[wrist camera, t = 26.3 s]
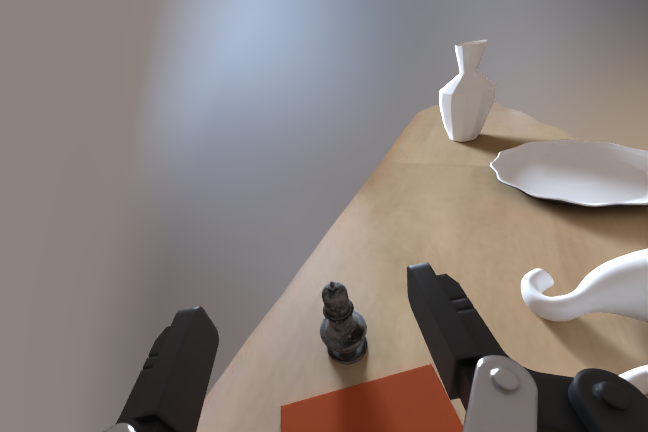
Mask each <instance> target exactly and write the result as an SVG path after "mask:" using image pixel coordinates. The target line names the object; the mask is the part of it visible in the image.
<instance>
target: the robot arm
mask: <svg viewBox="0 0 648 432" xmlns="http://www.w3.org/2000/svg"><path fill="white" fill-rule="evenodd" d="M407 287H408V298H409V302H410V306H411V309H412V311H413V313H414V316H415V318H416V320H417V323H418V325H419V327H420V330H421V332H422V335H423V337H424V339H425V342H426V344H427V346H428V349H429V351H430V353H431V356H432V358H433V361H434V363H435V365H436V368H437V370H438V372H439V375H440V377H441V379H442V382H443V384H444V386H445V389H446V391H447V394H448V396H449V398H450V400H452V399H458V398H460V399H461V402H462V404H463V406H464V408H465V410H466V415H465V420H464V425H463V430H462V432H648V399H647V398H646V397H645V395H644V394H643V393H642V392H641V391H640V390H639V389H637V388H636V387H635V386H634V385H633V384H631V383H630V382H628V381H627V380H625V379H624V378H622V377H620V376H618V375H616V374H614V373H611V372H609V371H606V370H601V369H595V368H589V369H584V370H582V371H580V372H578V373H577V375H576V376H575V378H573V377H566V376H560V375H553V374H546V373H540V372H535V371H532V370H529V369H527V368H525V367H523V366H521V365H520V364H519V363H517V362H516V361H514V360H512V359H511V358H510V357H509V356H508V355H507V354H506V353H505V352H504V351H503V350H502V348H501V347H500V345H499V344H498V342H497V341H496V339H495V338H494V336H493V335H492V333H491V332H490V330H489V329H488V327H487V326H486V324H485V323H484V321H483V320H482V318H481V317H480V315H479V313H478V312H477V310H476V309H474V307H473V304H472V303H471V301H470V300H469V298H467V295H466V294H465V292H464V291H463V289H462V288H461V286H460V285H459V283H458V282H456V281H455V280H454V279H452V278H451V277H450V276H448V275H447V274H442V275H437V276H436V274H435V272H434V271H433V269H432V267H431V266H430V264H429V263H422V264H416V265H411V266H408V267H407ZM218 343H219V336H218V331H217V329H216V327H215V326H214V324H213V323H212V321H211V320H210V318H209V317H208V315H207V314H206V312H205V310H204V309H203V308H202V307H201V306H198V307H193V308H188V309H182V310H179V311H178V312H177V313H176V316H175V318H174V320H173V322H172V324H171V326H169V327H166V328H165V329H164V331H163V332H162V333H161V334H160V336H159V337H158V338H157V339H156V340H155V342H154V345H153V347H152V349H151V351H150V353H149V358H147V359H146V362H145V364H144V366H143V370H142V371H141V372H140V374H139V377H138V379H137V381H136V383H135V386H134V388H133V390H132V392H131V394H130V396H129V398H128V400H127V403H126V405H125V407H124V409H123V411H122V413H121V415H120V417H119V419H118V421H117V423H116V424H115V425H114V426H112V427H110V428H108V429H107V430H105V431H104V432H196V430H197V426H198V422H199V418H200V415H201V411H202V407H203V403H204V399H205V395H206V391H207V387H208V383H209V379H210V375H211V371H212V368H213V364H214V359H215V356H216V352H217V348H218Z"/></svg>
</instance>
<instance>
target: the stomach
mask: <svg viewBox="0 0 648 432" xmlns="http://www.w3.org/2000/svg"><path fill="white" fill-rule="evenodd" d="M553 283H554V281H553V279H552V277H551V275H550V274H549V273H548V272H546V271H545V270H543V269H534V270H532V271H530V272H529V273H527V274H526V275H525V276H524V277H523V279H522V282H521V292H522V296H523V299H524V301H525V303H526V305H527V306H528V307H529V308H530V309H531V310H532V311H533V312H534V313H535V314H537V315H538V316H540V317H542V318H545V319H547V320H551V321H560V322H562V321H569V320H572V319H574V318H577V317H579V316H582V315H585V314H589V313H597V312H602V313H611V314H617V315H622V316H626V317H630V318H634V319H638V320H641V321H644V322H648V249H645V250H641V251H637V252H633V253H630V254H627V255H624V256H621V257H618V258H615V259H613V260H611V261H608V262H606V263H604V264H602V265H601V266H599V267H597V268H596V269H594V270H593V271H592V272H591V273H589V274H588V275H587V276H586V277H585V278H584V280H583V281H582V282H581V283H580V285H579V286H578V287H577V288H576V290H574V291H573V292H571V293H569V294H567V295H563V296H558V297H547V296H545V295H543V294H542V292H543V291H544V290H546V289H548V288H550V287H551V286H552V285H553ZM619 376H620V377H622V378H624V379H625V380H627V381H628V382H630V383H631V384H633V385H634V386H635V387H636V388H637V389H639V390H640V391H641V392H642V393H643V394H644V395H645V394H647V393H648V365H645V366H642V367H638V368H635V369H632V370H630V371H627V372H625V373H623V374H621V375H619Z"/></svg>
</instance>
